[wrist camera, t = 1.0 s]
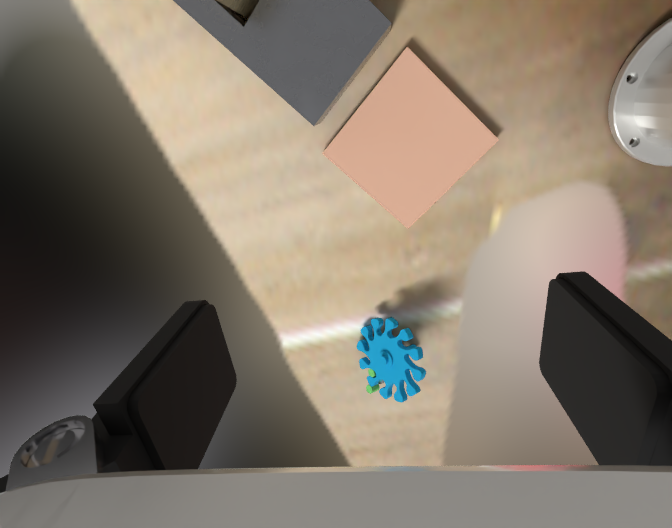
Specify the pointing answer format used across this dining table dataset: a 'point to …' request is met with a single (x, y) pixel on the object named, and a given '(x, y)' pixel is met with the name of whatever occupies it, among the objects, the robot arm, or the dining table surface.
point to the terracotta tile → (409, 140)
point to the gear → (390, 360)
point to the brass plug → (241, 6)
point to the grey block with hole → (299, 45)
